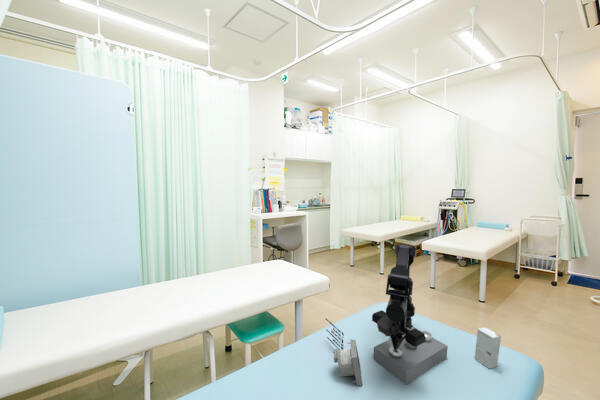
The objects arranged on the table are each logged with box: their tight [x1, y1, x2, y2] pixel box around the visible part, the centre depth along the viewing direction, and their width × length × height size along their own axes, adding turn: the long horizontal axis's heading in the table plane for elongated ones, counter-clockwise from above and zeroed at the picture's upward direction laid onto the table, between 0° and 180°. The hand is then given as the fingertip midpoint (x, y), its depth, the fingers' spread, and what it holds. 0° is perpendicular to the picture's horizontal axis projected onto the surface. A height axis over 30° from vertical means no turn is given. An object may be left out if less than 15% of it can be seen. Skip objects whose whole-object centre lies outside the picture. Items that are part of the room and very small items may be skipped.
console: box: [373, 327, 448, 385], centre depth 98 cm, size 14×25×5 cm, turn 122°
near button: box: [389, 345, 402, 359], centre depth 94 cm, size 4×4×5 cm
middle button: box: [405, 340, 416, 350], centre depth 98 cm, size 4×4×5 cm
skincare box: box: [474, 326, 502, 369], centre depth 97 cm, size 6×4×12 cm
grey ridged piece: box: [325, 318, 363, 387], centre depth 97 cm, size 27×11×10 cm, turn 27°
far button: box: [420, 330, 432, 342], centre depth 103 cm, size 4×4×5 cm
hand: (395, 349), depth 93 cm, fingers closed, pressing on near button
